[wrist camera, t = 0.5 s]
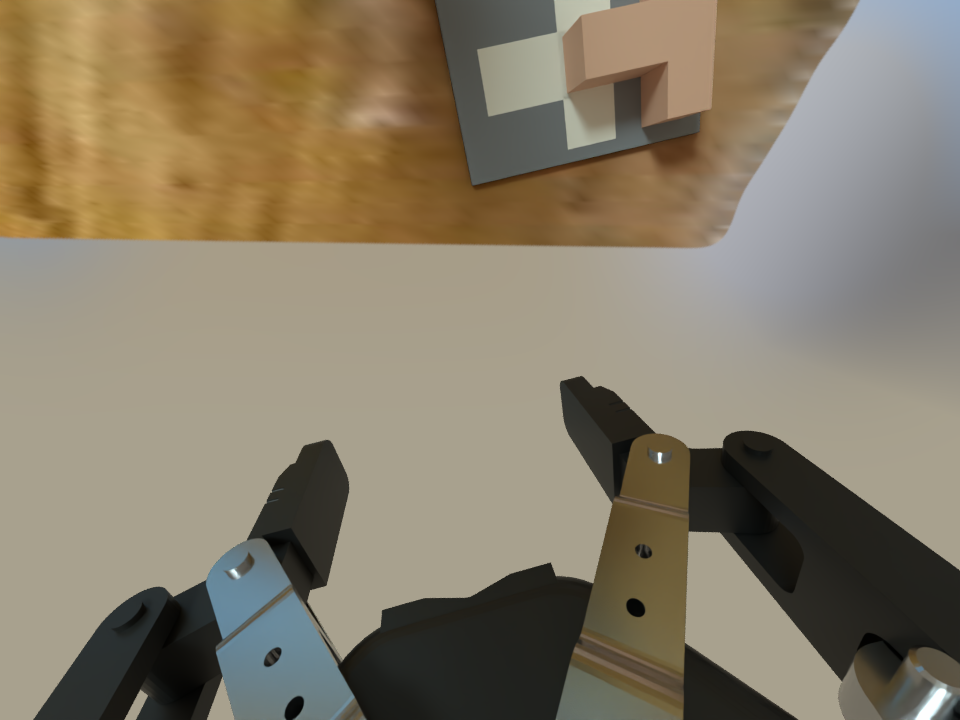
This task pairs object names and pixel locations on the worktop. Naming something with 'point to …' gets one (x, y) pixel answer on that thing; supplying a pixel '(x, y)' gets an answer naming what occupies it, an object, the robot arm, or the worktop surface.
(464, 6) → the mat
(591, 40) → the T-block
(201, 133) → the worktop surface
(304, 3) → the worktop surface
